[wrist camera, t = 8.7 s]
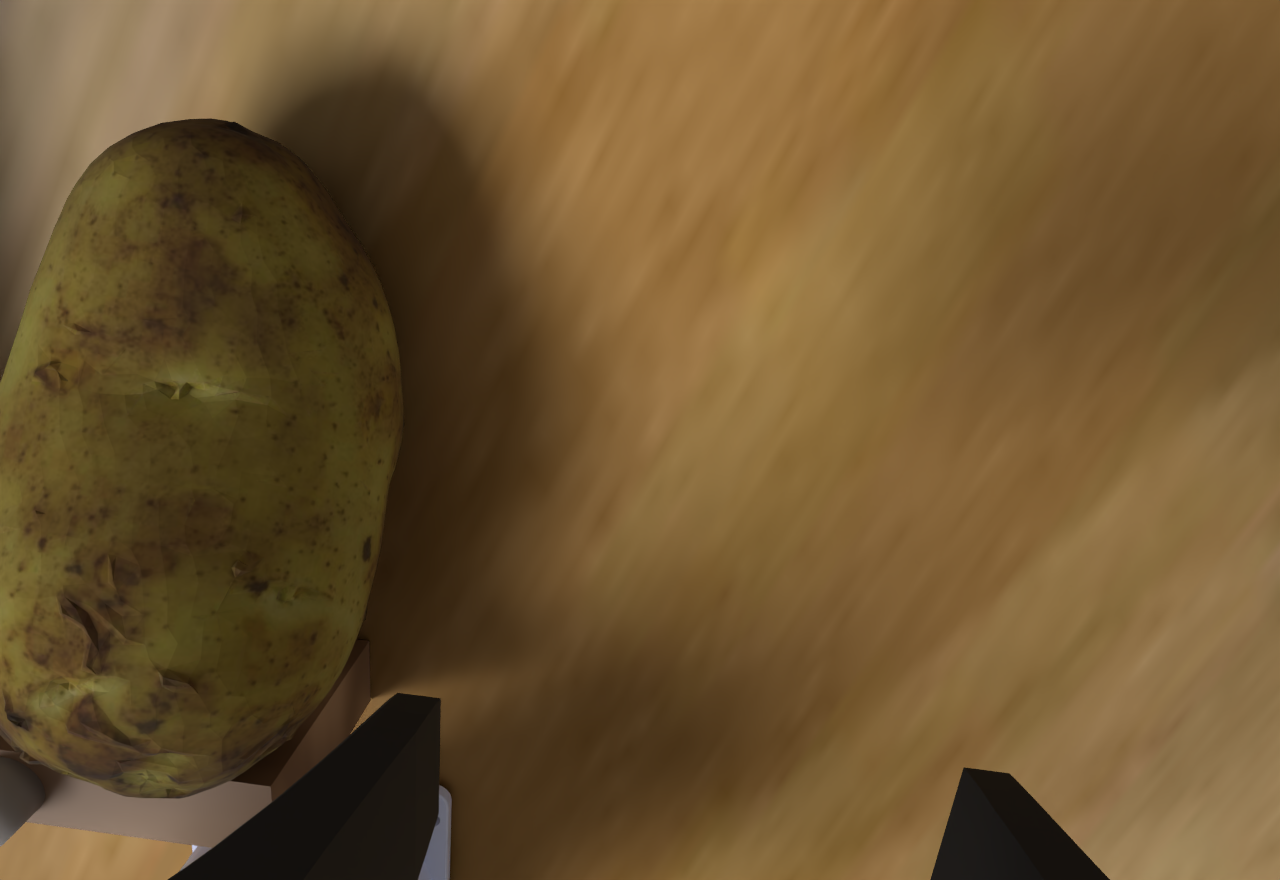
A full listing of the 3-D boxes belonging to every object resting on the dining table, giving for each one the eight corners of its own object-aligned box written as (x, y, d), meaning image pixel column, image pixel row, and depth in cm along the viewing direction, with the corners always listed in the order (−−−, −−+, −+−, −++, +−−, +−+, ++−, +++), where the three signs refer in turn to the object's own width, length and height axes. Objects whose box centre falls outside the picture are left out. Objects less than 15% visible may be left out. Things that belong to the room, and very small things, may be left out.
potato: (549, 250, 19) (434, 320, 11) (371, 669, 23) (204, 922, 15) (207, 82, 18) (-158, 35, 10) (92, 545, 22) (-223, 745, 15)
